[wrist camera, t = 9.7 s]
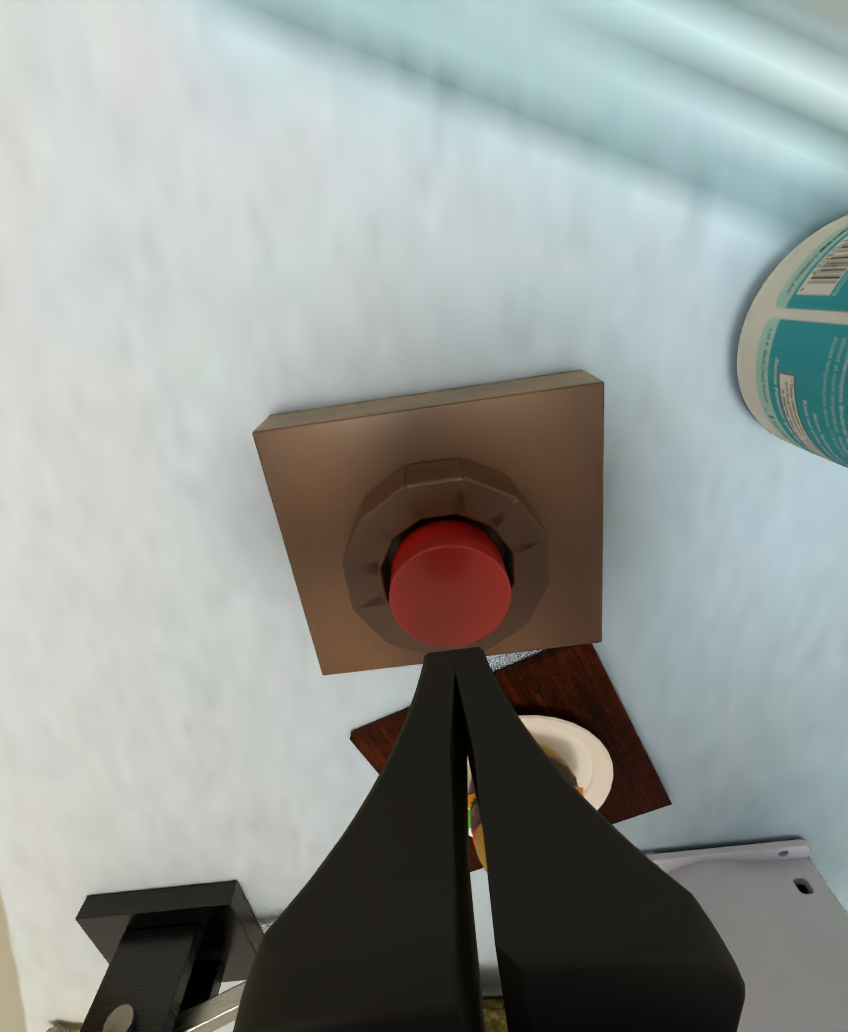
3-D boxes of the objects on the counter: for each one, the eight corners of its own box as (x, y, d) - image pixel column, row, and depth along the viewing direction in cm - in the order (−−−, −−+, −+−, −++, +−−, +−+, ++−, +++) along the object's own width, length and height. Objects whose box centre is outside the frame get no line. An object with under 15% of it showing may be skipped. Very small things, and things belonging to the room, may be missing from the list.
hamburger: (462, 865, 29) (472, 987, 24) (350, 731, 24) (334, 847, 20) (667, 796, 27) (725, 914, 22) (586, 633, 22) (635, 736, 17)
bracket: (237, 880, 29) (184, 1056, 23) (273, 955, 33) (237, 1126, 26) (87, 895, 30) (-8, 1072, 23) (138, 967, 33) (69, 1139, 27)
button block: (583, 369, 17) (627, 393, 14) (585, 609, 22) (619, 675, 18) (269, 414, 18) (232, 449, 14) (330, 640, 22) (314, 711, 19)
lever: (345, 900, 30) (357, 957, 27) (355, 929, 31) (367, 986, 29) (105, 1014, 27) (92, 1092, 24) (127, 1041, 28) (117, 1117, 25)
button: (497, 511, 16) (507, 537, 14) (506, 607, 17) (515, 640, 16) (382, 526, 16) (379, 554, 14) (401, 620, 17) (399, 655, 16)
